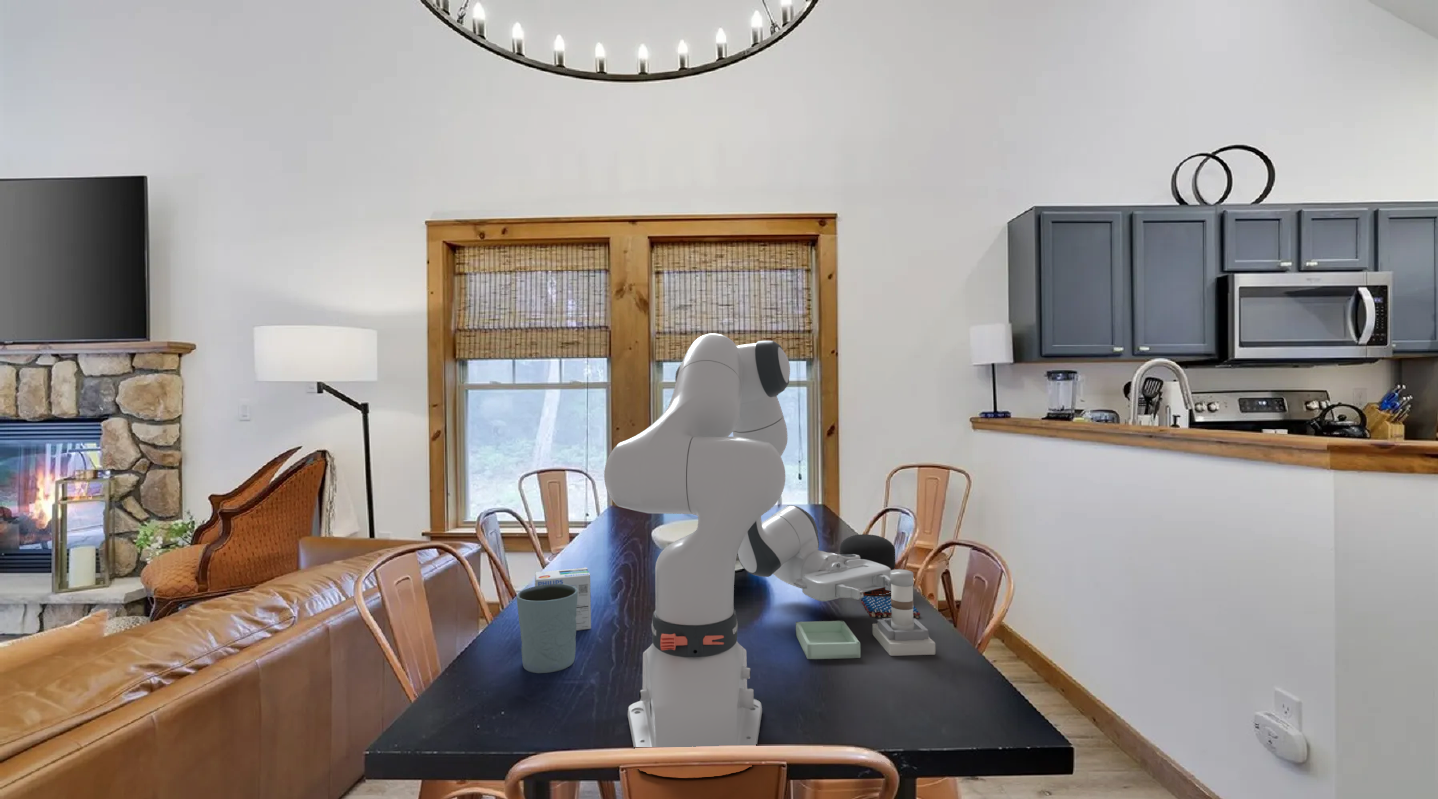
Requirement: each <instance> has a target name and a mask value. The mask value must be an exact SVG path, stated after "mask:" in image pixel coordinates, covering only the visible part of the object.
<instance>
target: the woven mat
mask: <svg viewBox="0 0 1438 799" xmlns="http://www.w3.org/2000/svg"><path fill="white" fill-rule="evenodd" d="M860 602H861V604H862V605H863V606H864V608H865V610H866V613H868V616H869V617H871V618H876V617H877V618H881V616H882V617H883V618H892V614H891V596H887V595H885V596H881V595H880V596H867V595H864V597H863V598H861V599H860ZM920 615H921V613H920V612H919V610H918V609H917V608H916V606H915V605H913V617H915V618H916V619H918V618H919V617H920Z"/></svg>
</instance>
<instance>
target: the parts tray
mask: <svg viewBox="0 0 1438 799" xmlns="http://www.w3.org/2000/svg"><path fill="white" fill-rule="evenodd" d="M795 636H796V638H797V640H798V642H799V644H800V647H801V649H802V651H803V653H804V655H805V656H806V659H807V660H833V659H861V642H860V641H859V640H858V638H857V637H856V635H855V634H854V633H853V631H852V630H851V629H850V627H849V626H848V625H847V623H846V622H845V621H844V620H823V621H822V620H819V621H815V620H814V621H795Z"/></svg>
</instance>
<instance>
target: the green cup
mask: <svg viewBox="0 0 1438 799" xmlns="http://www.w3.org/2000/svg"><path fill="white" fill-rule="evenodd" d="M577 598H578V589H577V588H576V587H574V586H571V585H567V584H548V585H540V586H535V585H534V586H532V587H529V588H526V589H522V590H521V591H519V592H518V593H517V594H516V605H517V613H518V624H519V631H520V632H519V633H520V640H521V649H520V650H521V657H522V658H521V660H522V666H523V668H524V670H526V671H528V672H530V673H534V674H535V673H536V674H549V673H553V672H559V671H563V670H565V669H567V668H568V667H570V666H572V665H573V664H574V662H575V658H576V646H577V642H576V641H577V640H576V637H577V636H576V635H577V630H576V616H577V613H576V608H577Z"/></svg>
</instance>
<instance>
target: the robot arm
mask: <svg viewBox="0 0 1438 799" xmlns="http://www.w3.org/2000/svg"><path fill="white" fill-rule="evenodd" d="M783 349H784V348H783V347H782V346H781V345H780V344H779V343H777V342H776V341H775V340H758V341H757V342H756V343H746V344H739V345H737V344H736V343H735V342H734V341H733V340H732V339H731V338H729V337H728V336H726V335H723V334H721V333H720V334H719V333H706V334H703V335H701V336H699V337H697V338H696V339H695V340H694V341H693V342H692V343H691V344H690V346H689V348H688V349H687V351H686V353H685V355H684V357H683V360H682V362H681V363H680V364H679V365H678V367H677V369H676V372H675V378H674V379H675V381H674V382H675V386H674V389H673V393H672V395H671V399H670V401H669V404H668V406H667V408H666V409H665V410H664V412H663V413H662V414H661V415H660V416H659V417H658V418H657V419H656V420H655V421H654V422H653V423H651V425H649V426H648V427H647V428H646V429H644V430H642V431H641V432H640V433H637V434H636V435H634V436H632V437H630V438H628V439H625V440H623V441H620V442H618V443H617V445H615V447H614V448H613V449H612V450H611V452H610V454H609V455H608V458H607V459H606V462H605V467H604V470H603V471H604V473H603V474H604V475H603V477H604V478H603V479H604V484H605V489H606V491H607V494H608V496H609V498H610V499H611V501H613V503H614V504H615V505H616V506H617V507H619V508H623V509H627V510H632V511H635V512H640V513H645V514H660V515H661V514H663V515H664V514H666V515H667V514H668V515H669V514H670V515H675V514H676V515H692V516H697V520H698V521H697V528H696V530H694V531H693V532H692V533H690V534H688V535H685V536H683V537H681V538H679V539H677V540H675V541H674V542H671V543H670V544H668V545H667V546H666V547H664V549H663V550H662V551H661V552H660V553H659V555H658V557H657V559H656V562H655V565H654V566H655V569H654V570H655V610H654V611H653V612H652V621H651V633H652V634H651V636H652V638H651V641H652V643H651V644H650V646H649V647H647V649H645V650H644V651H643V652H642V689H639V690H640V691H638V695H639V696H638V698H639V699H640V700H639V701H638V700H637V701H636V702H633V703H632V704H630V705H628V708H627V709H628V710H627V718H628V724H629V729H630V734H631V740H632V745H633V748H634V747H692V746H693V747H696V746H719V745H756V744H757V745H758V740H759V733H760V727H761V720H762V714H763V708H762V707H763V706H762V703H761V702H760V701H759V699H758V700H757V699H756V698H754V696H755V694H754V689H753V688H748V679H751V668H750V667H748V664H747V663H748V662H747V660H748V659H747V649H746V648H744V647H743V646H742V645H741V644H740V643H739V642H738V628H739V626H738V625H739V624H738V623H739V622H738V619H737V611H736V609H734V608H735V607H734V593H735V592H734V590H735V588H734V587H735V586H734V585H735V574H736V572H735V571H736V564H737V562H736V561H737V558H738V561H739V563H740V565H741V567H742V568H743V569H744V570H745V571H746V572H747V573H749V574H751V575H753V576H755V577H756V576H757V577H762V578H769V577H771V576H772V575H774V576H775V577H776V578H777V579H779V580H780V581H782V582H783V583H786V584H788V585H791V586H793V587H796V588H798V589H802V590H801V591H802V593H803V594H804V595H805V596H807V597H809V598H811V599H813V600H815V601H819V602H830V601H832V600H837V599H841V598H843V599H845V598H846V599H847V598H848V599H853V600H862V599H861V598H863V597H865V595H863V593H864V592H867V591H871V590H875V589H879V588H883V587H885V590H889V591H891V576H890V571H891V569H890V568H889V567H887V566H885V565H882V564H879V563H876V562H873V561H870V560H865V559H860V556H859V555H855V554H841V555H840V553H838V554H837V553H834V552H828V551H827V552H826V551H824V550H819V548H820V541H819V531H818V527H817V523H816V521H815V519H814V517H813V516H812V515H811V514H810V513H809V512H808V511H807V510H805V509H803V508H802V507H799V506H797V505H792V504H789V505H787V506H784V507H783V508H781V509H780V510H778V511H776V512H775V513H774V514H772V515H771V516H770V517H768V518H767V519H765V520H763V521H762V516H763V515H764V514H765V513H767V512H769V511H770V510H771V509H773V507H774V506H775V505H776V504H777V503H778V501H779V500H780V498H781V496H782V495H783V491H784V489H785V486H786V468H785V463H784V461H783V459H782V456H783V455H784V452H785V450H786V447H787V445H788V429H787V425H786V421H785V417H784V414H783V410H782V407H781V404H780V401H779V398H778V396H779V394H781V393H782V392H784V391H785V390H786V389H787V387H788V385H789V384H790V376H791V365H790V361H789V358H788V356H787V354H786V352H785V351H784V350H783ZM731 435H732V436H731Z"/></svg>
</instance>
